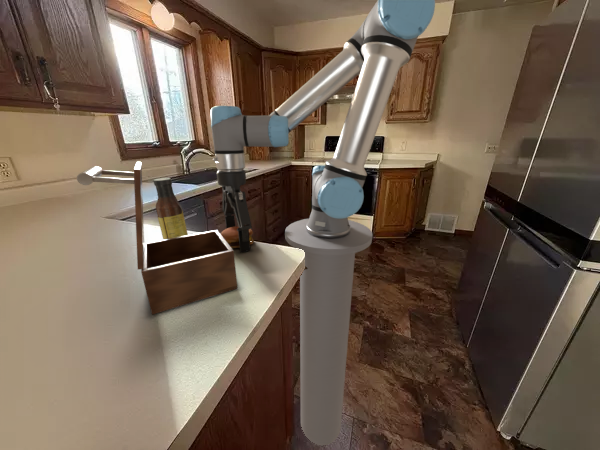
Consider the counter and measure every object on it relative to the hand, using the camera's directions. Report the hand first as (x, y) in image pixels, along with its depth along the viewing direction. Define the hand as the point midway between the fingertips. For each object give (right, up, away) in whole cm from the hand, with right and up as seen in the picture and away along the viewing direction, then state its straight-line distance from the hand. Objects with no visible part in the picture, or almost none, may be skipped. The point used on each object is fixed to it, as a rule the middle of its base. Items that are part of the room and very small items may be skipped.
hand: (237, 242), depth 73 cm
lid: (-10, +8, -29) cm, 31 cm away
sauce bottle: (-16, -2, -3) cm, 17 cm away
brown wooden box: (-5, -7, -20) cm, 22 cm away
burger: (0, 0, 0) cm, 0 cm away
